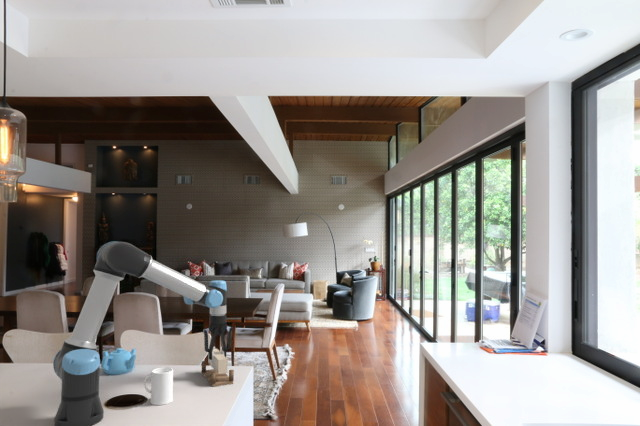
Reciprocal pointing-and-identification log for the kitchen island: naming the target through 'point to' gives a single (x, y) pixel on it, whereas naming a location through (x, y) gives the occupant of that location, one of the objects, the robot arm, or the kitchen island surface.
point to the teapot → (118, 361)
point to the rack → (217, 376)
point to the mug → (161, 386)
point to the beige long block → (219, 362)
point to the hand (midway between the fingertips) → (217, 365)
